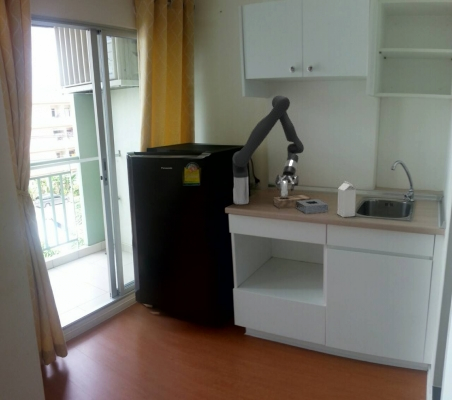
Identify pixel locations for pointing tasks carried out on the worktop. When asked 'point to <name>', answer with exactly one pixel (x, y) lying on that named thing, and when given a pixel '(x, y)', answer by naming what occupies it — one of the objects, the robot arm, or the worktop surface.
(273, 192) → the worktop surface
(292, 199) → the wooden block with hole
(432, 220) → the worktop surface
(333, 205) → the worktop surface
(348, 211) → the milk carton
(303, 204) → the holder
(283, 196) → the axle
